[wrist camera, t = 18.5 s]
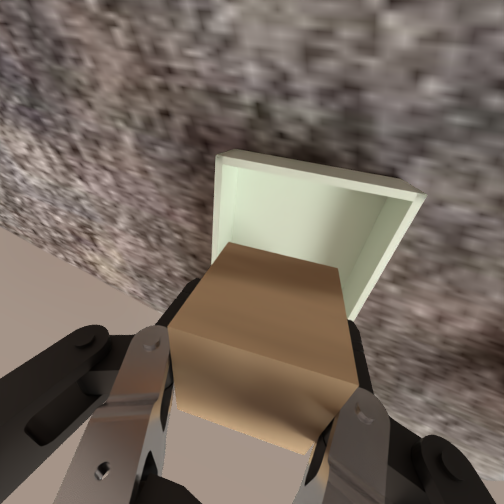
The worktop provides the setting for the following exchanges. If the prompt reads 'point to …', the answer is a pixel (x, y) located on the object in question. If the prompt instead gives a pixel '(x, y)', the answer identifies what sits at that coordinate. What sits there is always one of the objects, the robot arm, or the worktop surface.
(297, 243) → the box
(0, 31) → the worktop surface
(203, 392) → the oak block
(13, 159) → the worktop surface
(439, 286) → the worktop surface
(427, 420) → the worktop surface
